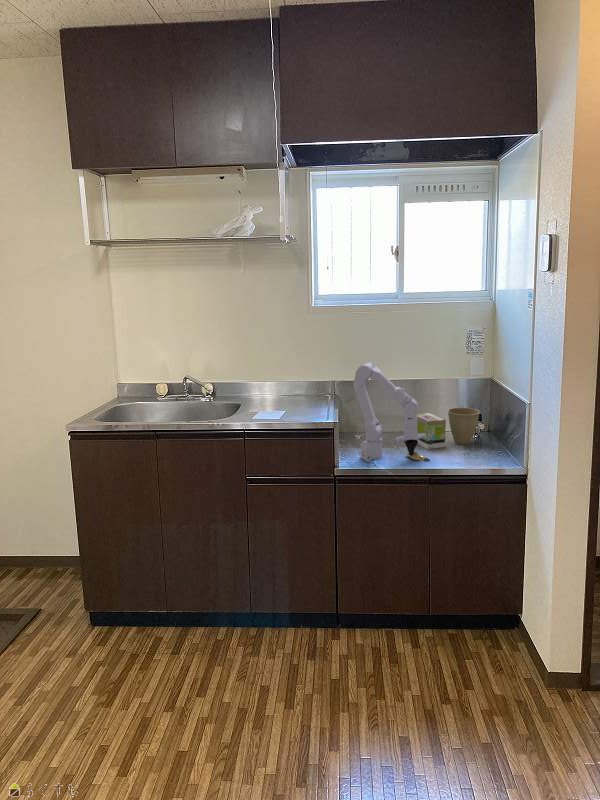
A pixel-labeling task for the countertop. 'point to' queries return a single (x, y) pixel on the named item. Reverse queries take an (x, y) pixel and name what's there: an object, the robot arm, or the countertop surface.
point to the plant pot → (463, 424)
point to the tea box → (431, 430)
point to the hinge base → (424, 458)
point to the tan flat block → (416, 456)
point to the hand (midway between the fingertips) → (410, 455)
